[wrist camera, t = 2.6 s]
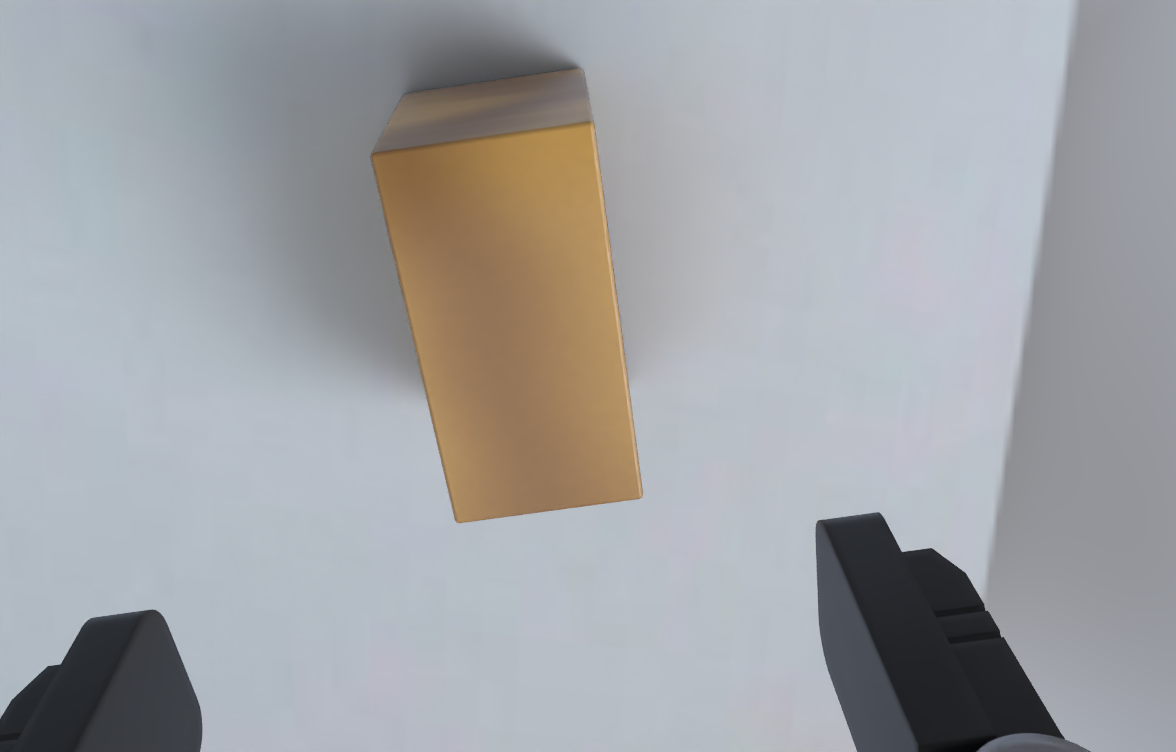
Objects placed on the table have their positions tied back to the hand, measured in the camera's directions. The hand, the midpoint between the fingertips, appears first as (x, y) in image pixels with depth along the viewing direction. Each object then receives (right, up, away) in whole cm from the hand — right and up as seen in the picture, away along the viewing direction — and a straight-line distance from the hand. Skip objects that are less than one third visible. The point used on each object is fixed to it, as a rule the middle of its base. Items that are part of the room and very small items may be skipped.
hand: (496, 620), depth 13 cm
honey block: (0, +6, +12) cm, 13 cm away
